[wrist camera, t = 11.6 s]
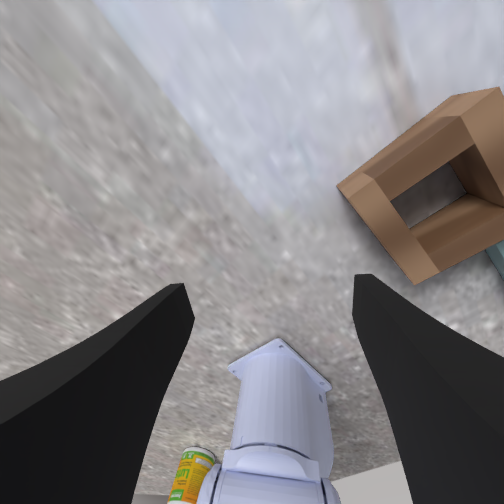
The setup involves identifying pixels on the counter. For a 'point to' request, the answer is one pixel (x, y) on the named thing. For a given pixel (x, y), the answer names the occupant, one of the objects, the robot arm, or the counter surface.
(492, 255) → the tray
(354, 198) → the bore block
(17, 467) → the robot arm
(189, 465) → the supplement bottle
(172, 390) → the counter surface
